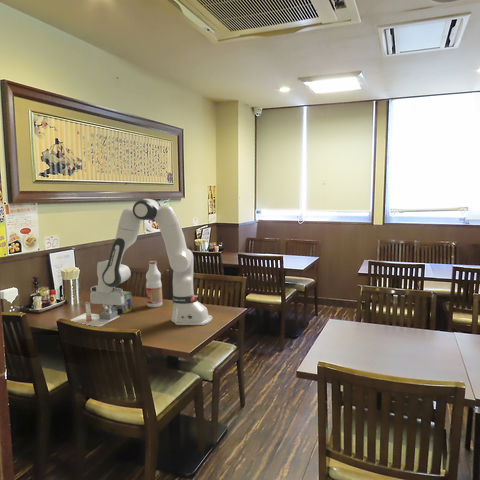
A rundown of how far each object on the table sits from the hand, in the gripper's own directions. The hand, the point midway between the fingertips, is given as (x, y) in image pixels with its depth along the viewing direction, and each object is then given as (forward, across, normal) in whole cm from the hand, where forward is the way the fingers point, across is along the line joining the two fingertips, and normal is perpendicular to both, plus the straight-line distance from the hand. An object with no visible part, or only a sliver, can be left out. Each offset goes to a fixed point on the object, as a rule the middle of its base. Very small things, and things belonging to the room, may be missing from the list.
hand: (108, 311), depth 218 cm
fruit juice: (+4, -13, -29) cm, 32 cm away
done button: (+3, 0, 0) cm, 3 cm away
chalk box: (+4, 0, -13) cm, 14 cm away
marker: (+3, +7, +7) cm, 11 cm away
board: (+4, +7, +5) cm, 9 cm away
